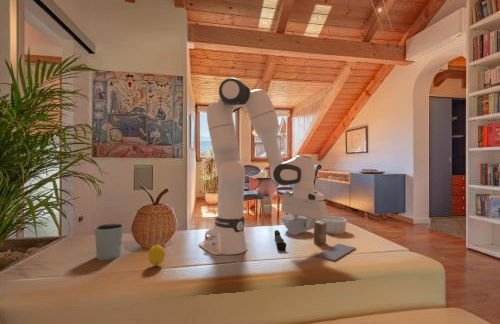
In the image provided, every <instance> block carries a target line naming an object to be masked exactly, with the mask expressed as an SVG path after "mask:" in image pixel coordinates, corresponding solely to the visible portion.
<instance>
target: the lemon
mask: <svg viewBox="0 0 500 324" xmlns="http://www.w3.org/2000/svg"><path fill="white" fill-rule="evenodd" d="M165 254H166V253H165V249H164V247H163V246H162V245H161V244H160V245H159V244H158V243H157V244H155V245H152V246H151V247H150V249H149V251H148V261H149V263H150V264H151V265H153V266H155V267H158V266H159V265H160V264H162V263H163V261H164V259H165V256H166V255H165Z"/></svg>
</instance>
